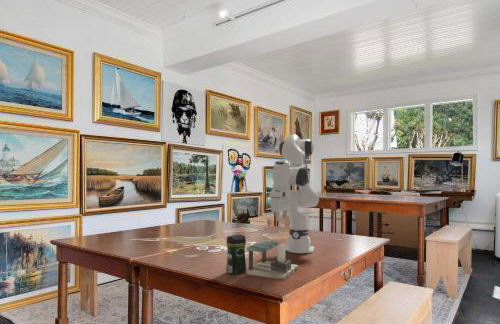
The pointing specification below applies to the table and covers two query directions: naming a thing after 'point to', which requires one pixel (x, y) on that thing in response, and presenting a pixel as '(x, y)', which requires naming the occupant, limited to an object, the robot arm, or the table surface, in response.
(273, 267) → the canopy socket
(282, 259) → the peg
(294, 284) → the table surface
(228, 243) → the coffee jar
